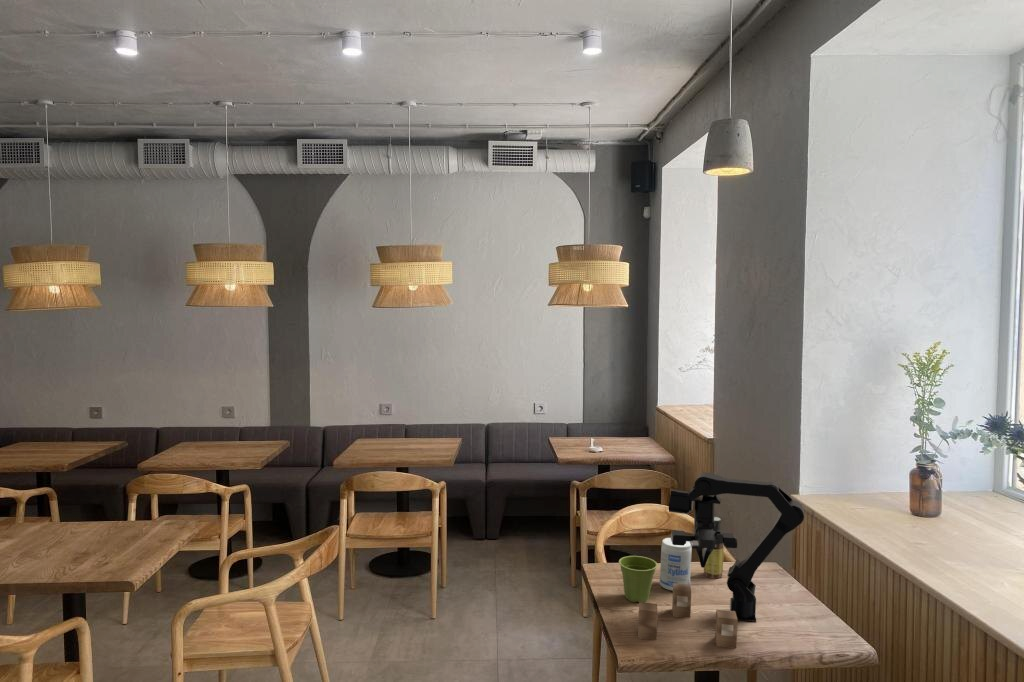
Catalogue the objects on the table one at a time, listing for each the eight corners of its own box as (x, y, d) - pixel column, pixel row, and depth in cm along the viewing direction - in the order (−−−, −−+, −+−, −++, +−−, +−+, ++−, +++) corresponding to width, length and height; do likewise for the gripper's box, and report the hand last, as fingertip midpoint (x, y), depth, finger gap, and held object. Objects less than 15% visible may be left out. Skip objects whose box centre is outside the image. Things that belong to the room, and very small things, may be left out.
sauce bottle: (708, 570, 249) (710, 513, 247) (725, 575, 245) (728, 517, 243) (699, 576, 243) (702, 518, 242) (717, 581, 240) (720, 522, 238)
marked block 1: (689, 610, 217) (690, 584, 216) (690, 618, 212) (691, 591, 211) (672, 609, 218) (673, 583, 217) (672, 616, 212) (673, 590, 212)
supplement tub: (668, 593, 229) (669, 548, 228) (654, 582, 238) (656, 538, 237) (695, 591, 231) (697, 545, 230) (681, 579, 240) (682, 536, 239)
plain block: (656, 631, 203) (657, 603, 202) (656, 640, 198) (657, 611, 197) (638, 629, 204) (639, 602, 203) (637, 638, 199) (638, 609, 198)
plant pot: (612, 601, 222) (613, 565, 222) (625, 587, 233) (626, 553, 232) (649, 609, 217) (651, 572, 216) (661, 595, 227) (662, 560, 227)
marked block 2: (733, 639, 199) (735, 611, 199) (736, 648, 194) (737, 619, 193) (715, 637, 200) (716, 609, 199) (717, 646, 195) (718, 617, 194)
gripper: (675, 522, 209) (673, 575, 210) (741, 526, 207) (740, 579, 208) (671, 511, 220) (669, 561, 221) (734, 514, 218) (732, 565, 219)
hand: (702, 567), depth 217 cm, fingers closed
